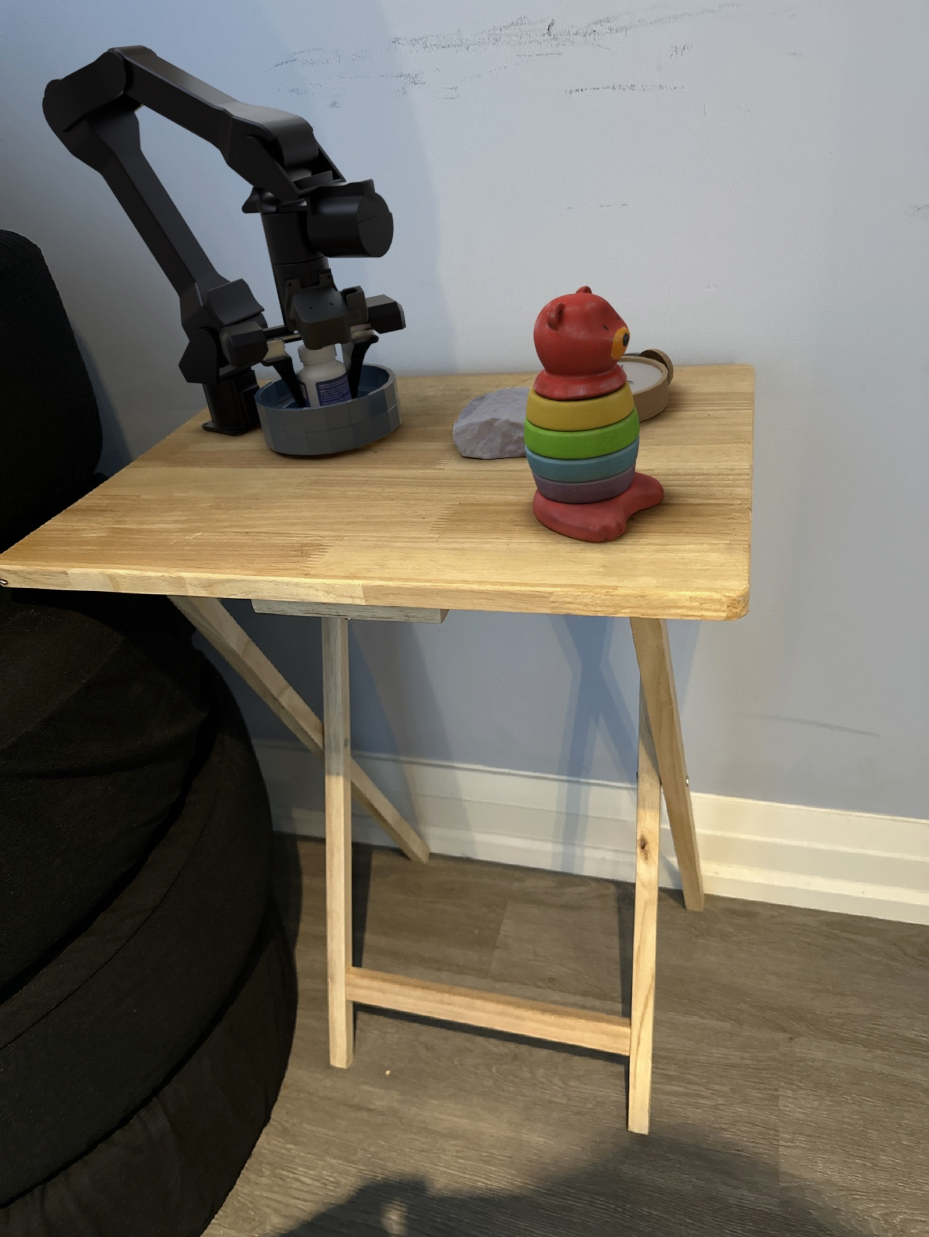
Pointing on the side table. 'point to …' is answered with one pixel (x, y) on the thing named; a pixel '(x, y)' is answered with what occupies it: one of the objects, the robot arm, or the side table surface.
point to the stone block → (493, 425)
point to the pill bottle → (322, 377)
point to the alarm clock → (648, 380)
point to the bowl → (330, 416)
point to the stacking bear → (584, 422)
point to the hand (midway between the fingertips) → (328, 408)
